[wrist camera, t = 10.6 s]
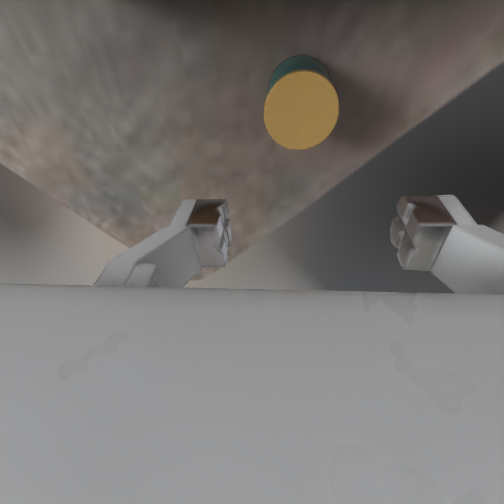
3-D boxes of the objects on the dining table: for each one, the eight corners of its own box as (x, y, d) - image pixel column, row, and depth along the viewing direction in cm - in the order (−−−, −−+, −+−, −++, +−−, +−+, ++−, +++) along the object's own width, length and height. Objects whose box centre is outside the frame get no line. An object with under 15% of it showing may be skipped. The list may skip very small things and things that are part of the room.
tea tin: (269, 124, 23) (265, 151, 19) (266, 56, 20) (261, 73, 16) (327, 121, 22) (334, 149, 19) (334, 51, 19) (344, 68, 16)
